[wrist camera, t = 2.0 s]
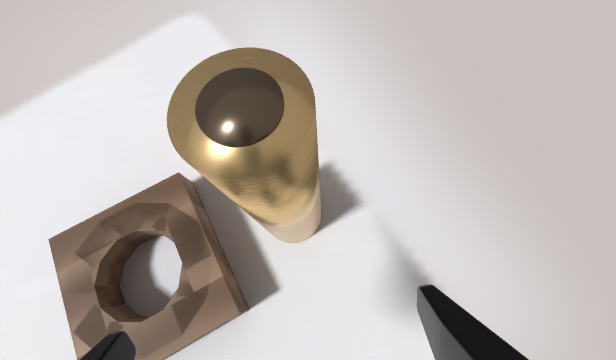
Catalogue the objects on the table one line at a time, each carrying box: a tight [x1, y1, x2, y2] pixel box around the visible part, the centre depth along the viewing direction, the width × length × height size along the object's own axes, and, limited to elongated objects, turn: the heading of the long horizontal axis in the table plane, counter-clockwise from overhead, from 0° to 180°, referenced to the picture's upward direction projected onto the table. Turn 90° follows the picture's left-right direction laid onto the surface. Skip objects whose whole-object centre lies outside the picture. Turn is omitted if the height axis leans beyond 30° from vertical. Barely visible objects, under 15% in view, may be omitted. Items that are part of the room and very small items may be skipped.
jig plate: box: [49, 172, 249, 360], centre depth 21 cm, size 11×10×2 cm
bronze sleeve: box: [167, 48, 321, 243], centre depth 16 cm, size 4×4×15 cm
